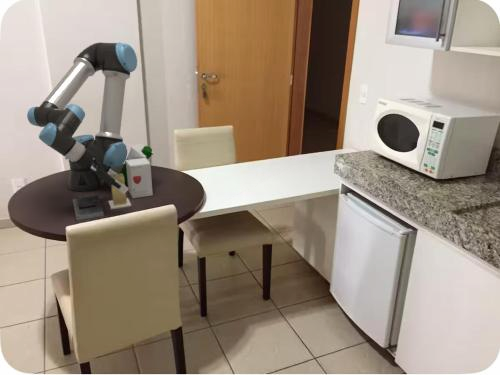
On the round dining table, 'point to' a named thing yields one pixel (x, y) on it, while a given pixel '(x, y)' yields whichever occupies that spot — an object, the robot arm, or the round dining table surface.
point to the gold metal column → (116, 194)
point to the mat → (119, 205)
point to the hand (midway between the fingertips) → (123, 185)
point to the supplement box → (139, 177)
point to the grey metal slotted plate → (87, 212)
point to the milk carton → (137, 156)
